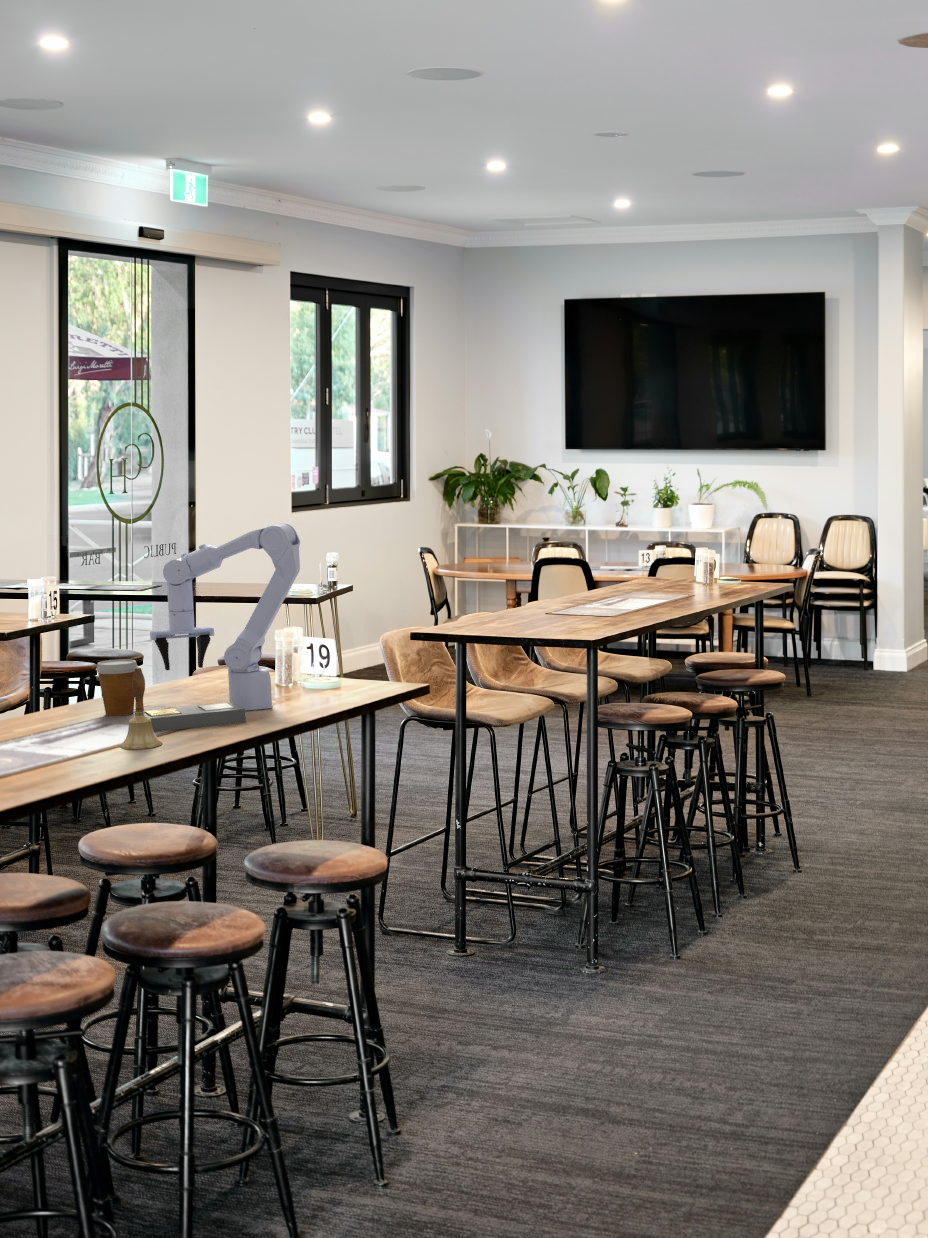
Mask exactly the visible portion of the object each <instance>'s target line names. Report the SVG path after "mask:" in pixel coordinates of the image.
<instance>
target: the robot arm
mask: <svg viewBox="0 0 928 1238" xmlns="http://www.w3.org/2000/svg"><path fill="white" fill-rule="evenodd" d="M300 544H301V540H300V538H299V536H298V533H297V531H296V530H295V528H294V526H292V525H291V524H288V523H284V522H283V523H279V524H277V525H276V524H275V525H273V524H272V525H269V526H266V527H263V528H258V529H255V530H251V531H248V532H246V533H244V534H241V535H240V536H238V537H235V538H234V539H231V540H229V541H228V542H226V543H223V544H221V545H219V546H214V545H212V544H208V545H206V544H201V545H198V549H196V550H194V551H192V552H189V553H186V552H184V553H182V554H180V558H173V559H170V560H169V561H168V562H167V563H166V564H165V565H164V566H163V569H162V574H163V578H164V580H165V581H166V583H167V603H168V604H167V607H168V624H169V628H166V629H160V630H150V631H149V636H150V637H149V639H150V640H151V641H154V643H155V644H156V647H157V649H158V650H159V653H160V655H161V658H162V661H163V664H164V669H165V671H170V670H171V668H170V667H171V666H170V665H171V664H170V658H169V657H170V656H169V646H170V645H169V642H168V640H169V639H181V638H196V639H195V640H196V648H197V667H198V668H199V669H203V668H204V662H205V661H204V660H205V656H206V652H207V649H208V647H209V645H210V642H211V637H214V636H215V627H214V626H206V627H205V626H203V627H201V626H200V627H198V626H197V627H196V626H195V613H194V595H193V594H194V593H193V580H194V579H195V578H199V577H200V576H202V575H205V574H208V573H209V572H211V571H214V570H216V569H218V568H220V567H221V565H222V563H223V561H224V560H225V559H227V558H230V557H233V556H235V555H238V554H240V553H242V552H244V551H248V550H249V549H254V550H261V549H262V550H264V551H265V552H266V554H267V556H269V557H270V559H271V561H272V564H273V566H274V568H275V569H274V573H273V574H272V576H271V578H270V580H269V582H268V584H267V586H266V587H265V589H264V591H263V593H262V595H261V597H260V598H259V601H258V603H257V604H256V606H255V608H254V610H253V612H252V614H251V616H250V617H249V620H248V622H247V623H246V625H245V627H244V628H243V630H241V632H240V633H239V635H238V636H237V638H236V639H235V642H233V643H232V644H230V645H229V646H228V647H227V648H226V649H225V651H224V655H223V658H224V659H223V660H224V663H225V665H226V666H227V667H228V669H227V671H228V674H227V675H228V677H227V678H228V695H229V696H228V699H229V701H228V702H233V703H235V704H237V705H239V706H241V707H243V708H245V709H246V711H255V710H256V711H257V710H265V709H272V708H274V705H273V699H272V695H273V694H272V680H271V679H272V678H271V674H270V671H269V669H266V668H260V665H259V663H258V662H260V661H261V659H262V656H263V655H262V652H263V651H262V650H263V646H264V645H265V641H266V635H267V633H268V631H269V630H270V628H271V626H272V624H273V621H274V620H275V618H276V617H277V614H278V613H279V610H280V608H281V606H282V605H283V603H284V601H285V600H286V597H287V595H288V594H289V592H290V590H291V588H292V586H293V584H294V583H295V580H296V578H297V576H298V575H299V573H300V570H301V563H300V562H301V560H300Z"/></svg>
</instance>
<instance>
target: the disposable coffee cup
mask: <svg viewBox="0 0 928 1238" xmlns="http://www.w3.org/2000/svg"><path fill="white" fill-rule="evenodd" d="M135 668H139V665H138V664H137V660H135V659H126V658H125V659H122V658H121V659H109V660H102V661H99V662H97V665H96V668H95V671H96V673H97V674H98V680H99V684H100V691H101V695H102V701H103V706H104V707H103V708H104V713H105V716H108V717H109V716H110V717H120V716H128V715H132V714H135V713H134V710H135V696H134V693H133V688H132V679H133V675H134V671H135Z"/></svg>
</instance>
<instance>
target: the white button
mask: <svg viewBox="0 0 928 1238" xmlns="http://www.w3.org/2000/svg"><path fill="white" fill-rule="evenodd" d="M222 703H223V704H214V703H212V704H213V705H204V704H202V705H203V706H199V708H200V709H202V710H204V711H213V710H223V709H233V708H234V707H233V706H231V705H229V704H227V703H224V702H222Z"/></svg>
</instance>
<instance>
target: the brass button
mask: <svg viewBox="0 0 928 1238" xmlns="http://www.w3.org/2000/svg"><path fill="white" fill-rule="evenodd" d="M171 708H172V709H163V708H161V709H162V710H153V709H151V710H152V711H145V713H146V714H147V715H148V716H150V717H153V716H163V715H173V714H181V713H180V712H179V711H177V710H175V709H174V708H173V707H171Z"/></svg>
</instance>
